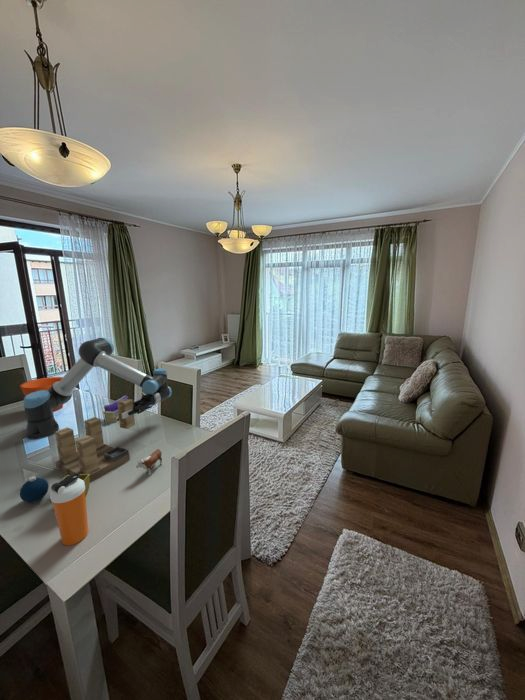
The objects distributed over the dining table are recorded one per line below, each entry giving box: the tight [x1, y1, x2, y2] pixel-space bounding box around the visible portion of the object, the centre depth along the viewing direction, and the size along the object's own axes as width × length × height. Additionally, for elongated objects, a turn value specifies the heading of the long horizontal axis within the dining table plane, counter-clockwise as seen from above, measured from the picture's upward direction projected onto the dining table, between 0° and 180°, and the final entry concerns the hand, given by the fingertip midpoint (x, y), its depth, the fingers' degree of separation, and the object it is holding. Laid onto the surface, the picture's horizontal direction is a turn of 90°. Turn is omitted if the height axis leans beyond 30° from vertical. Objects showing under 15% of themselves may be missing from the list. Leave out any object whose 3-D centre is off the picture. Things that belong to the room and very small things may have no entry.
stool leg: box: [117, 398, 136, 430], centre depth 144 cm, size 5×5×14 cm
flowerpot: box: [19, 376, 64, 413], centre depth 191 cm, size 25×25×20 cm
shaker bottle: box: [49, 474, 89, 546], centre depth 87 cm, size 9×9×20 cm
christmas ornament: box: [19, 475, 49, 503], centre depth 105 cm, size 8×8×10 cm
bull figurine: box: [135, 449, 163, 477], centre depth 122 cm, size 4×13×8 cm, turn 158°
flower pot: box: [60, 474, 90, 498], centre depth 103 cm, size 9×9×9 cm
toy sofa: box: [102, 395, 136, 423], centre depth 181 cm, size 21×9×10 cm, turn 165°
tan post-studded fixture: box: [54, 416, 131, 484], centre depth 127 cm, size 24×20×17 cm
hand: (117, 415), depth 139 cm, fingers closed on stool leg, 5 cm apart
